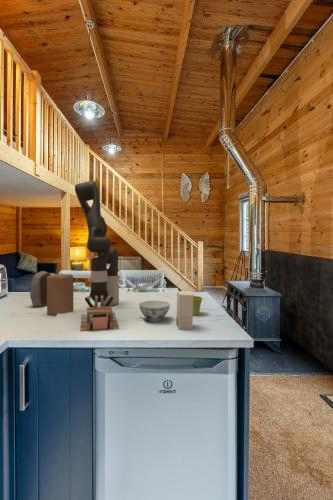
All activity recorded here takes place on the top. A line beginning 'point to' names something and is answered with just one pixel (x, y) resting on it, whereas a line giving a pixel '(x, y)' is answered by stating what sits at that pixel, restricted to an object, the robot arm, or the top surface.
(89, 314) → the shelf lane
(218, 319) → the top surface
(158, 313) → the chinaware
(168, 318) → the top surface
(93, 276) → the robot arm
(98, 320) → the cord block
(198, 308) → the plant pot
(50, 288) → the block
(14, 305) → the top surface
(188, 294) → the skincare box
